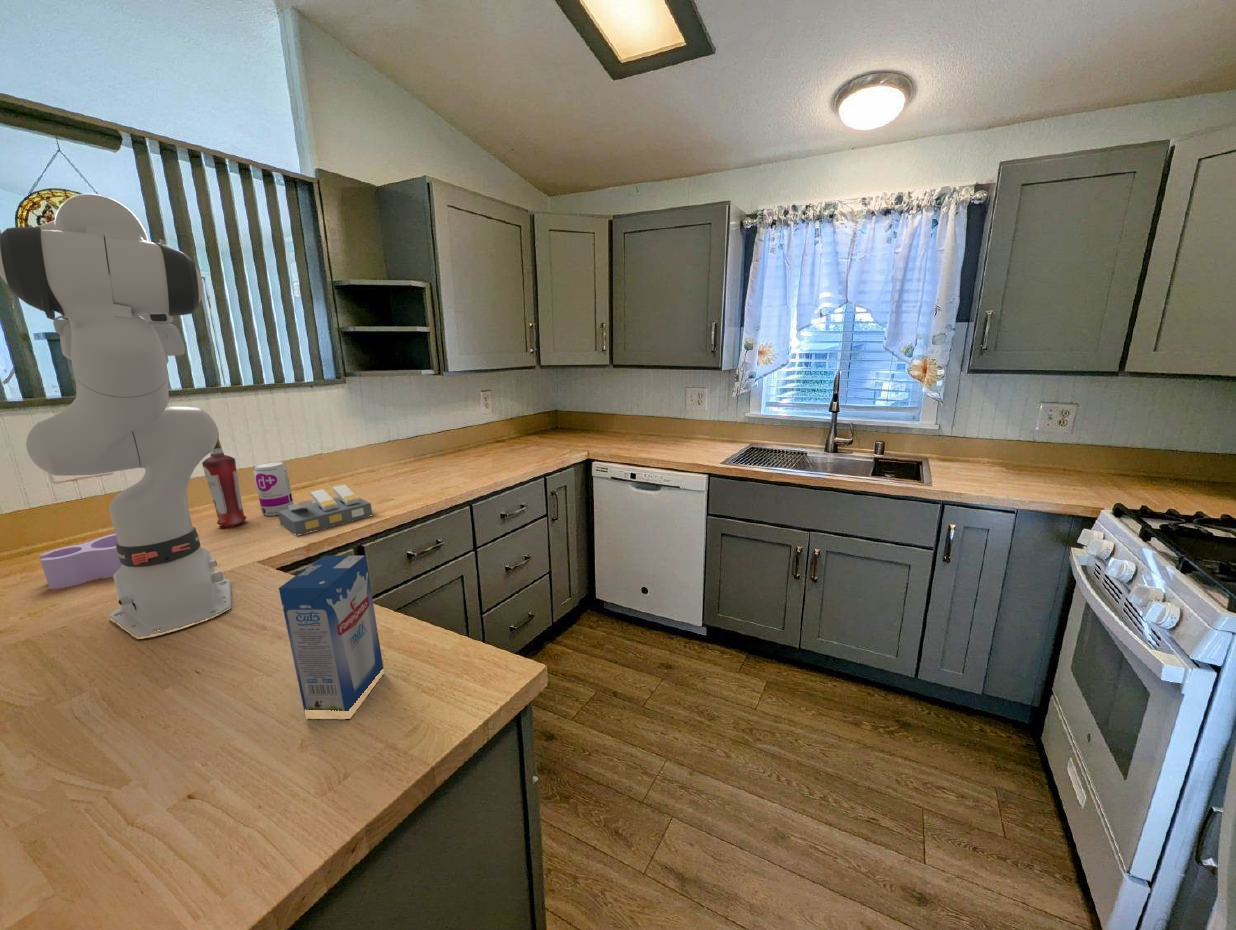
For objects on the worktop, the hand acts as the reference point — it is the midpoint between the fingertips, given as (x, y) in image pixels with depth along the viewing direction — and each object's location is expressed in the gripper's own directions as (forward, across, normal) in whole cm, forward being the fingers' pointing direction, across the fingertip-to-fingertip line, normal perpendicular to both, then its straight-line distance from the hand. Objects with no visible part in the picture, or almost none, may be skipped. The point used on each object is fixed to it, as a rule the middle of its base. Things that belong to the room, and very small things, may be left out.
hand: (134, 378), depth 116 cm
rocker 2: (+37, +32, -9) cm, 50 cm away
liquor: (+43, +17, +13) cm, 48 cm away
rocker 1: (+37, +26, -8) cm, 46 cm away
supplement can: (+43, +29, +12) cm, 54 cm away
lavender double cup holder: (+44, -12, +4) cm, 45 cm away
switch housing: (+43, +32, -9) cm, 54 cm away
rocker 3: (+37, +38, -10) cm, 54 cm away
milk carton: (+44, -10, -86) cm, 97 cm away
